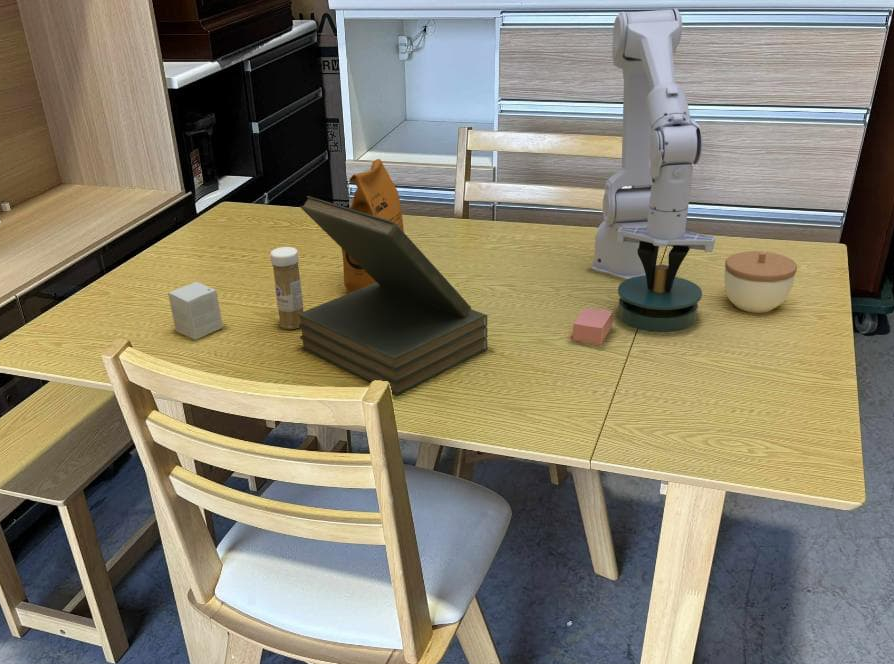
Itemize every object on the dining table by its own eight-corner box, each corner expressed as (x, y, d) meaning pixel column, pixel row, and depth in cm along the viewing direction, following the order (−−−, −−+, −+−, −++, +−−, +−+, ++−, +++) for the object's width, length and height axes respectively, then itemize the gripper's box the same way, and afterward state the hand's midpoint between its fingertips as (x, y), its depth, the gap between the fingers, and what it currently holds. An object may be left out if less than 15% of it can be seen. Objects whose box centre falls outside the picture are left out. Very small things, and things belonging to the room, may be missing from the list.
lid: (601, 298, 141) (603, 269, 139) (646, 274, 148) (649, 246, 146) (672, 320, 133) (676, 290, 130) (717, 294, 140) (721, 264, 137)
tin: (602, 320, 143) (604, 304, 142) (645, 297, 150) (646, 281, 149) (668, 342, 135) (670, 325, 134) (709, 316, 142) (712, 299, 141)
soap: (572, 343, 137) (573, 323, 135) (584, 326, 142) (585, 307, 140) (600, 347, 135) (602, 328, 134) (611, 330, 140) (613, 311, 138)
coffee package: (336, 293, 160) (324, 175, 149) (367, 269, 169) (358, 155, 158) (384, 300, 156) (376, 179, 145) (413, 275, 165) (408, 159, 154)
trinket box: (794, 321, 139) (805, 266, 134) (723, 319, 141) (732, 265, 136) (782, 294, 148) (792, 241, 143) (715, 293, 150) (723, 241, 145)
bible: (487, 350, 137) (487, 194, 124) (396, 396, 126) (386, 231, 114) (390, 310, 152) (381, 168, 139) (301, 348, 142) (283, 198, 129)
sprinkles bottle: (274, 326, 150) (264, 252, 143) (292, 316, 152) (283, 243, 146) (293, 332, 147) (283, 257, 140) (311, 323, 150) (303, 249, 143)
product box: (204, 319, 154) (197, 280, 150) (224, 328, 150) (217, 289, 146) (174, 331, 150) (166, 292, 147) (194, 341, 147) (186, 301, 143)
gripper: (614, 209, 133) (608, 291, 140) (713, 219, 127) (701, 304, 134) (626, 196, 138) (619, 275, 145) (721, 204, 132) (710, 287, 139)
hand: (659, 288), depth 140 cm, fingers closed on lid, 2 cm apart
